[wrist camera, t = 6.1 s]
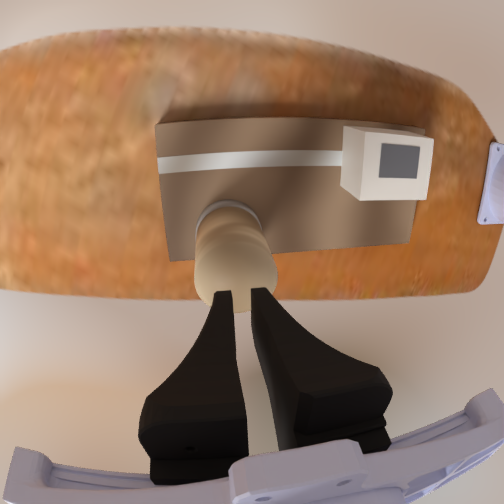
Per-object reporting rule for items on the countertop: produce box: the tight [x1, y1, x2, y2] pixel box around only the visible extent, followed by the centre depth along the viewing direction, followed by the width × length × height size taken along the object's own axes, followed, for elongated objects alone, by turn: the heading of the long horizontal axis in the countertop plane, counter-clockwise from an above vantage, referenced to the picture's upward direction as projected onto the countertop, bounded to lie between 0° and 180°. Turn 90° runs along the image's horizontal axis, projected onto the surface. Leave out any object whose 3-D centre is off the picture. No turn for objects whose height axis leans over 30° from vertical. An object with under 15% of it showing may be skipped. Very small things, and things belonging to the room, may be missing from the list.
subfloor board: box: [155, 117, 425, 262], centre depth 20 cm, size 18×9×1 cm, turn 91°
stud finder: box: [340, 126, 434, 201], centre depth 18 cm, size 5×4×3 cm
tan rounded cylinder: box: [194, 199, 278, 313], centre depth 18 cm, size 4×4×6 cm
